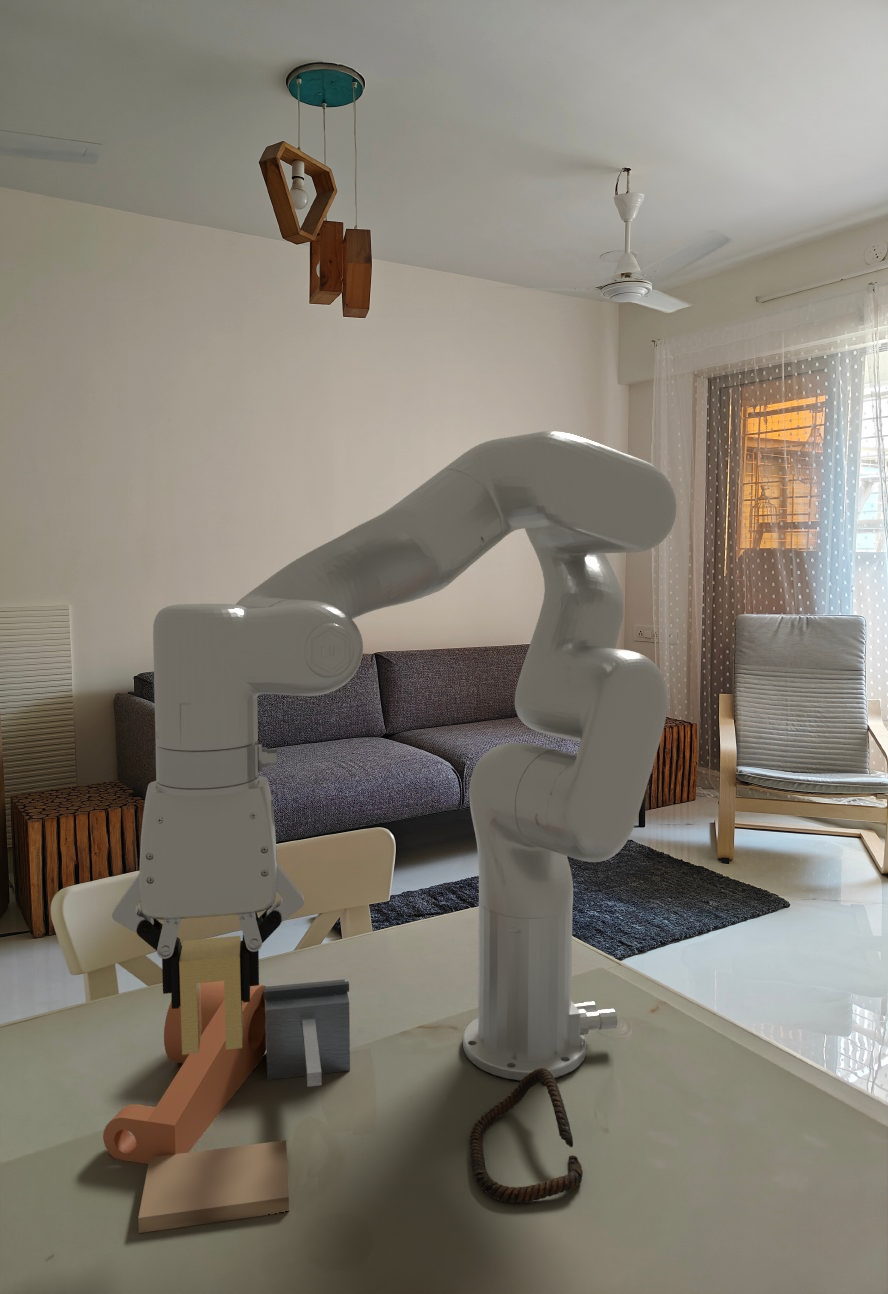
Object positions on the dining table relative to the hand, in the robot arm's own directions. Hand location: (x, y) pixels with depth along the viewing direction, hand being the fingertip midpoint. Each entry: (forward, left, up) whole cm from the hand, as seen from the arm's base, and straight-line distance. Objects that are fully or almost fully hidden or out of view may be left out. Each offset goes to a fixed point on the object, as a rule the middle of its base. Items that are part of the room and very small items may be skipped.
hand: (212, 995), depth 69 cm
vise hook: (-8, -13, -16) cm, 22 cm away
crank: (+3, -14, -17) cm, 22 cm away
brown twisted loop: (-25, 0, -17) cm, 30 cm away
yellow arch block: (0, 0, -4) cm, 4 cm away
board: (0, 0, -16) cm, 16 cm away
